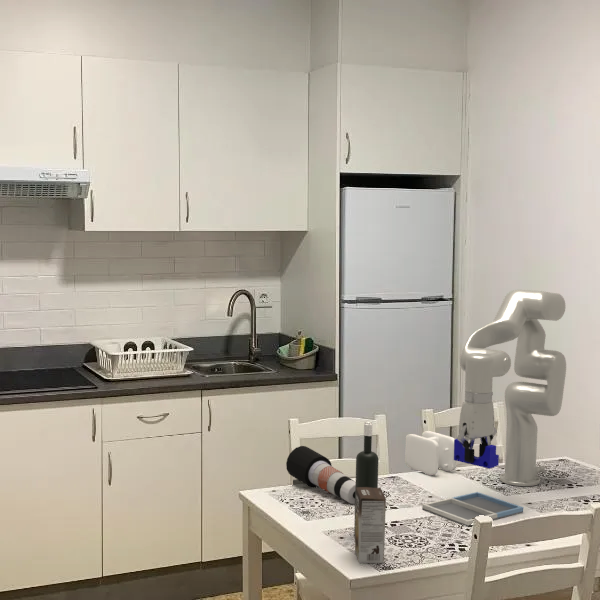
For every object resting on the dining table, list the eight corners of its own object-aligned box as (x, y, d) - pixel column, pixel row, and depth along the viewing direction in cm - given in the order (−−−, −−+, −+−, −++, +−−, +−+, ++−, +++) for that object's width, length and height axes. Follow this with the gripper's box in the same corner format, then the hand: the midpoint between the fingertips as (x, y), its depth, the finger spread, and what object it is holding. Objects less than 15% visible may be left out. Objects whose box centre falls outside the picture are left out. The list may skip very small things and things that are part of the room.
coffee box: (353, 549, 238) (355, 486, 237) (379, 549, 239) (381, 486, 237) (357, 563, 229) (359, 497, 228) (384, 563, 230) (386, 497, 228)
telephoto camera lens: (359, 525, 271) (348, 497, 267) (292, 483, 299) (282, 457, 294) (385, 504, 276) (375, 477, 271) (316, 465, 303) (307, 439, 299)
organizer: (402, 467, 316) (403, 432, 315) (425, 462, 323) (426, 428, 322) (434, 478, 304) (435, 442, 303) (457, 473, 311) (459, 437, 310)
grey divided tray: (477, 496, 285) (477, 491, 285) (523, 512, 271) (523, 507, 271) (422, 509, 272) (422, 504, 272) (467, 526, 258) (467, 521, 258)
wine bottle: (360, 540, 245) (363, 425, 242) (350, 533, 251) (353, 420, 248) (380, 537, 248) (383, 423, 245) (369, 530, 253) (372, 419, 250)
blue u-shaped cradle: (498, 465, 268) (499, 444, 268) (489, 468, 265) (490, 447, 264) (462, 456, 277) (463, 436, 276) (453, 460, 273) (454, 439, 273)
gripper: (489, 391, 277) (487, 452, 279) (446, 398, 267) (445, 462, 269) (509, 396, 271) (507, 458, 273) (466, 403, 261) (464, 468, 263)
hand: (476, 459), depth 271 cm, fingers closed on blue u-shaped cradle, 5 cm apart
